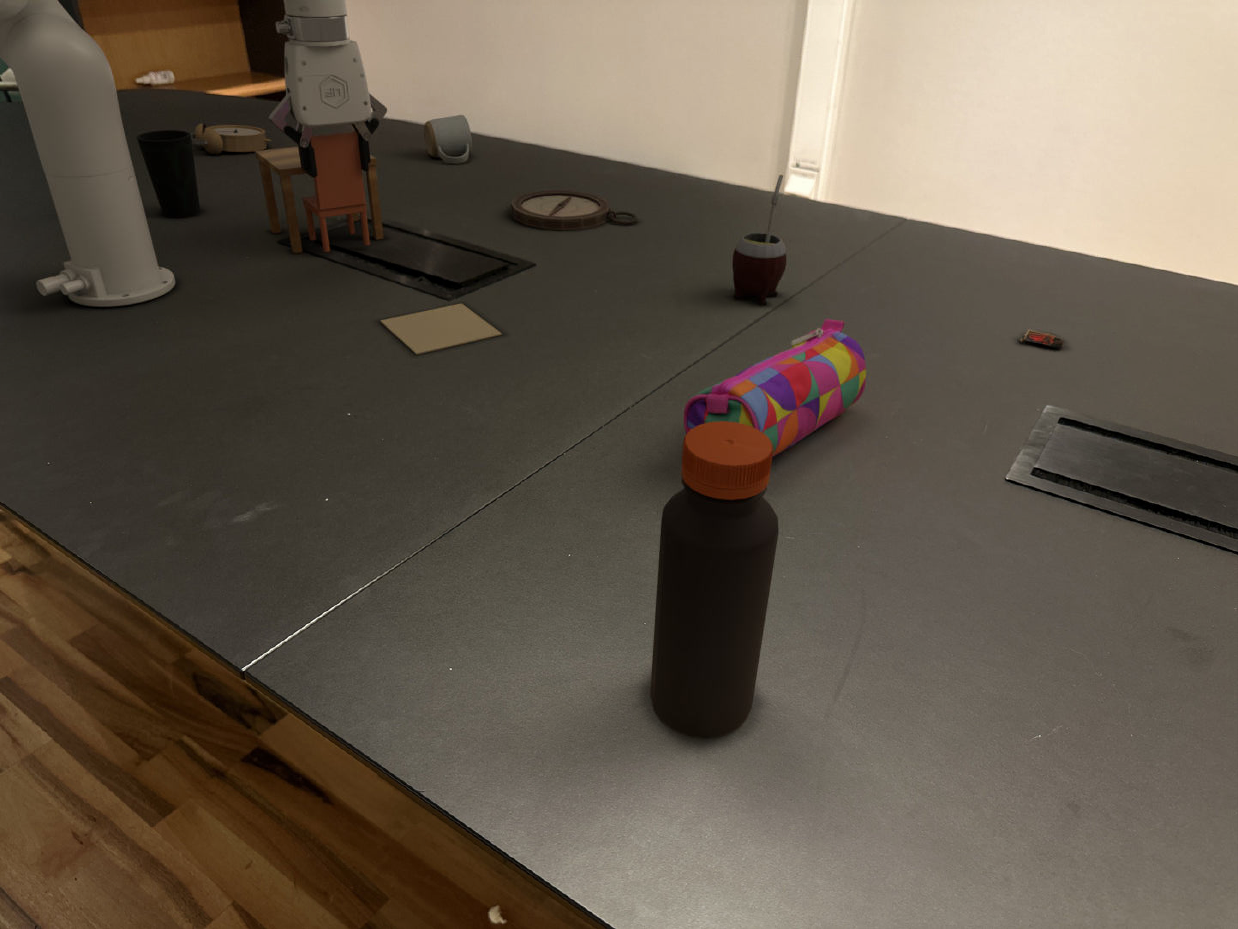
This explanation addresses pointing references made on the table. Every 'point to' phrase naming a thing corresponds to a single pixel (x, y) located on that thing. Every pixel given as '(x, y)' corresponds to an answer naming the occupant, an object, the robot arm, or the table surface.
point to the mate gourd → (759, 261)
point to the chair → (337, 184)
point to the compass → (564, 210)
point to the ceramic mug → (448, 138)
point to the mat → (439, 328)
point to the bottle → (713, 581)
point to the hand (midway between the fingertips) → (337, 170)
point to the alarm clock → (229, 138)
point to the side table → (285, 166)
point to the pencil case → (788, 388)
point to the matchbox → (1043, 338)
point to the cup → (171, 171)
